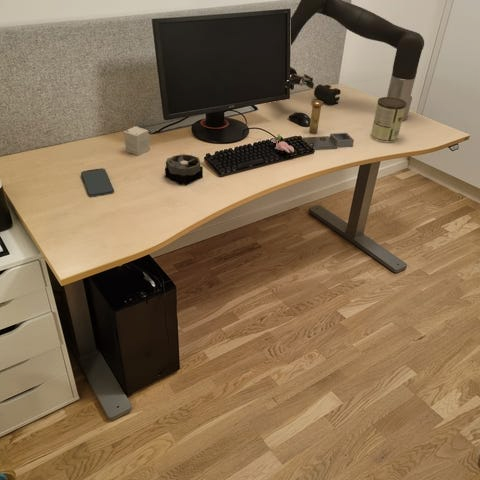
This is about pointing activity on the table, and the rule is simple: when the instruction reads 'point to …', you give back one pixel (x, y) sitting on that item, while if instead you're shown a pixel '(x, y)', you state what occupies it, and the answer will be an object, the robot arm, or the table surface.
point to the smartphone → (97, 182)
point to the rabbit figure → (282, 145)
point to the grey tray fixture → (330, 141)
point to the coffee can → (388, 119)
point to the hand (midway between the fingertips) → (302, 86)
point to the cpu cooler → (183, 169)
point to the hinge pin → (315, 116)
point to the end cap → (327, 94)
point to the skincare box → (137, 140)
